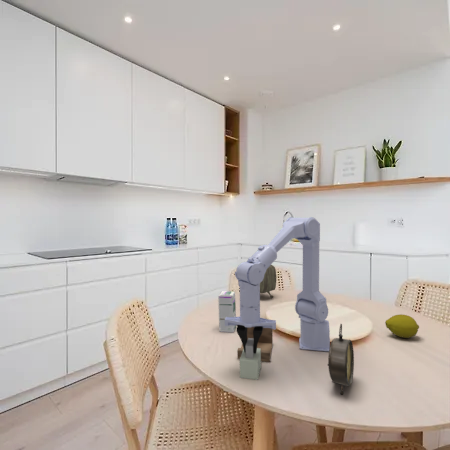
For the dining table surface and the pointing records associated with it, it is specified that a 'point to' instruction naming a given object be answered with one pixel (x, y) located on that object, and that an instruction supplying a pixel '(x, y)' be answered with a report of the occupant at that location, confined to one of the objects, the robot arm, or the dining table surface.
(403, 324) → the lemon
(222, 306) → the syrup box
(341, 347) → the alarm clock
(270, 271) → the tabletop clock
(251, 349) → the pale grey boxy piece
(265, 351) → the cleat board
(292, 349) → the dining table surface
